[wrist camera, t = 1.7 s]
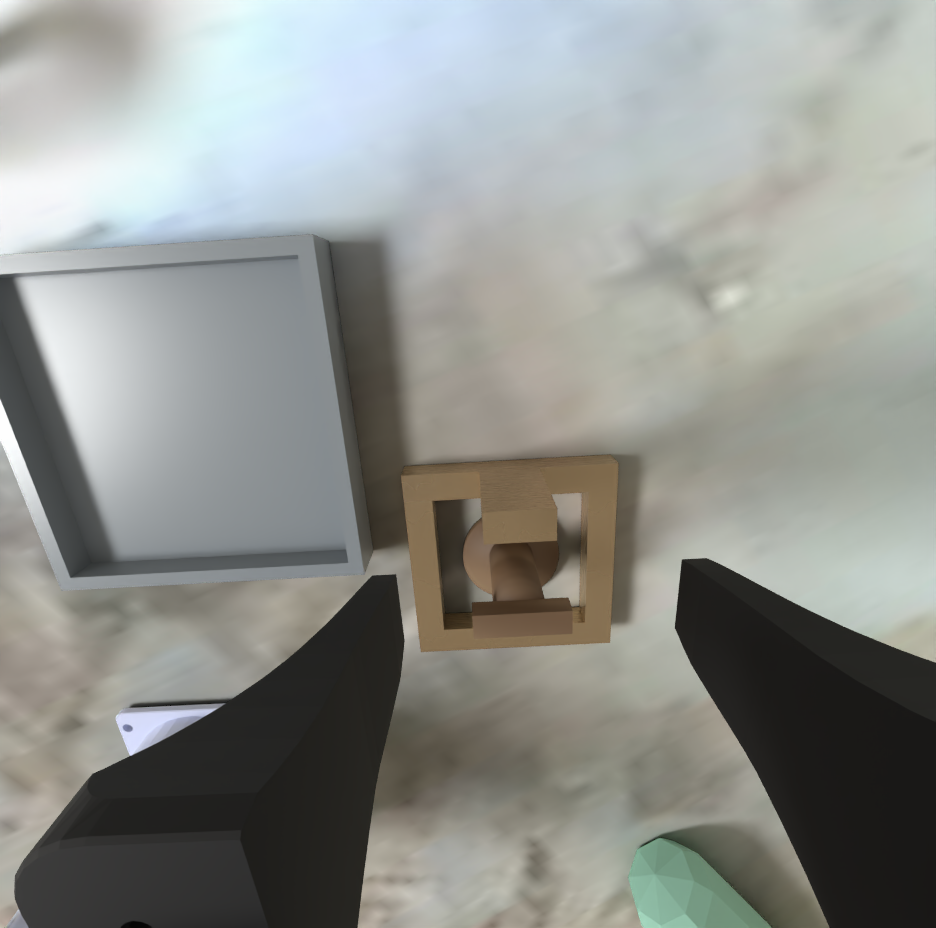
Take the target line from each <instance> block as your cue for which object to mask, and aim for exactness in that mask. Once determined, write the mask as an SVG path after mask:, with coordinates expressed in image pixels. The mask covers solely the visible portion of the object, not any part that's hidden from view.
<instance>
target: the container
mask: <svg viewBox="0 0 936 928" xmlns="http://www.w3.org/2000/svg"><path fill="white" fill-rule="evenodd" d="M628 879H629V882H630V886H631V890H632V893H633V897H634V901H635V904H636V908H637V911H638V915H639V918H640V921H641V925H642V926H643V927H644V928H772V927H771V926H770V925H769V924H768V923H767V922H766V921H765V920H764V919H763V918H762V917H761V916H760V915H759V914H758V913H757V912H756V911H755V910H754V909H753V908H752V907H751V906H750V905H749V904H748V903H747V902H746V901H745V900H744V899H743V898H742V897H741V896H740V895H739V894H738V893H737V892H736V891H735V890H734V889H733V888H732V887H731V886H730V885H729V884H728V883H727V882H726V881H725V880H724V879H723V878H722V877H721V876H720V875H719V874H718V873H717V872H716V871H715V870H714V869H713V868H712V867H711V866H710V865H709V864H708V863H707V862H706V861H705V860H704V859H703V858H702V857H701V856H700V855H699V854H698V853H696V852H694V851H692V850H690V849H688V848H687V847H685V846H683V845H681V844H679V843H677V842H675V841H673V840H669V839H665V838H658V839H656V840H654V841H652V842H650V843H648V844H646V845H644V846H643V847H641V848H639V849H637V852H636V855H635V858H634V861H633V864H632V867H631V870H630V873H629V876H628Z"/></svg>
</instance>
